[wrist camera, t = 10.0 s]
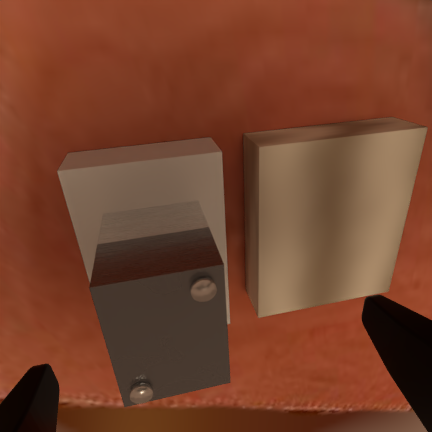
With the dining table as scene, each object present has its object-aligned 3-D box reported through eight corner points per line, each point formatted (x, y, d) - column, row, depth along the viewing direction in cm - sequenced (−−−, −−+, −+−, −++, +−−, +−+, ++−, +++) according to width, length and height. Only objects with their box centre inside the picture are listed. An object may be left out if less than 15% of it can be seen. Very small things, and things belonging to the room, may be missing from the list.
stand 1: (210, 137, 20) (221, 151, 17) (220, 294, 25) (230, 323, 23) (67, 152, 19) (57, 171, 16) (111, 315, 24) (108, 348, 22)
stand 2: (392, 116, 22) (427, 127, 19) (364, 267, 27) (388, 291, 25) (243, 133, 20) (259, 147, 18) (245, 289, 26) (258, 317, 23)
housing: (198, 200, 18) (225, 269, 13) (207, 299, 21) (232, 387, 16) (102, 213, 17) (88, 293, 12) (127, 314, 21) (124, 413, 15)
